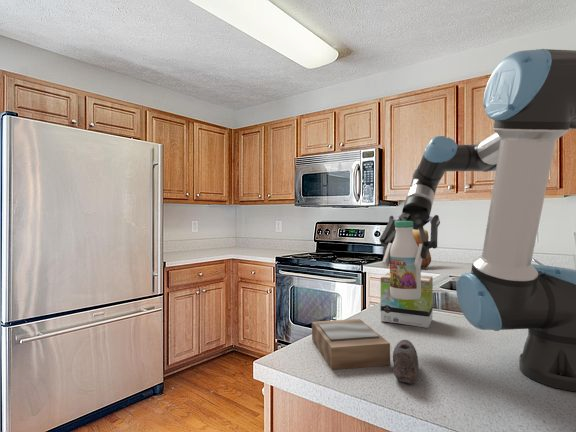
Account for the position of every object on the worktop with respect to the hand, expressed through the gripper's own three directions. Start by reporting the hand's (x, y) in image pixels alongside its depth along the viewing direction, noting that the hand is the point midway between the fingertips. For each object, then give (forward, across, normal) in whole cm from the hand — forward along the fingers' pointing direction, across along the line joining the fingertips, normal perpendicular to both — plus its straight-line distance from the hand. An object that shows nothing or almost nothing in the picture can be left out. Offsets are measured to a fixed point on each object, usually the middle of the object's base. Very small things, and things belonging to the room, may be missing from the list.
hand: (400, 265), depth 92 cm
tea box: (-3, +7, -34) cm, 35 cm away
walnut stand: (+21, +12, -10) cm, 26 cm away
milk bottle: (+4, 0, -9) cm, 9 cm away
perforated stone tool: (+24, -5, -7) cm, 26 cm away
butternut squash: (-85, +36, -115) cm, 147 cm away
